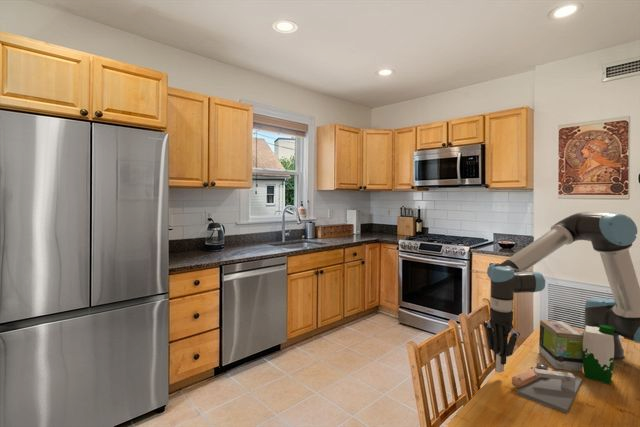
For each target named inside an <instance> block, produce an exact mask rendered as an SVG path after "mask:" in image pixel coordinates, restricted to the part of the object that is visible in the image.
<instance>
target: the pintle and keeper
mask: <svg viewBox="0 0 640 427" xmlns="http://www.w3.org/2000/svg"><path fill="white" fill-rule="evenodd" d="M535 365H536V366H537V367H538V368H540V369H534V373H535V375H536V376H537V377H544V378H551V379H559V380H561V387H562V388H563V390H564V391H567V392H575V377H574V376H575V375H574V374H573V373H572V372H565V371H560V372H558V371H559V370H556V371H550V370H544V369H548V367H549V365H548V364H546V363H544V362H536V364H535Z"/></svg>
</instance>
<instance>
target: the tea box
mask: <svg viewBox="0 0 640 427" xmlns="http://www.w3.org/2000/svg"><path fill="white" fill-rule="evenodd" d="M539 321H540V322H539V337H538V338H539V344H538V352H539V354H541V355H542V357H544V359H545V360H546V361H548V363H550V364H551V366H553V368H554V369H555V370H556V369H557V370H563V371H564V370H565V371H567V370H568V371H575V372H577V371H578V372H583V371H584V369H583V363H582V349H583V337H584V335H583V332H581V331H579V330H577V329H576V328H574V327H573V326H572V325H570V324H569V323H567V322H566V321H562V320H561V321H559V320H549V319H548V320H546V319H540V320H539Z"/></svg>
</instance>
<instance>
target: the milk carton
mask: <svg viewBox="0 0 640 427" xmlns="http://www.w3.org/2000/svg"><path fill="white" fill-rule="evenodd" d="M583 332H584V331H583ZM582 363H583V373H584V378H585V379H586V380H591V381H595V382H599V383H602V384H606V385H609V386H610V385H611V381H612V377H613V374H614V367H615V366H614V363H615V359H614V328H613V327H611V326H608V325H600V326H599V328H598V327H591V326H586V328H585V332H584V337H583V349H582Z"/></svg>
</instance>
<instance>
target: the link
mask: <svg viewBox="0 0 640 427" xmlns="http://www.w3.org/2000/svg"><path fill="white" fill-rule="evenodd" d="M534 369H540V368H538V367H537V366H536V364H534V365H531V366H530V369H528V370H525V371H524V372H521V373H520V374H517V375H515V376H512V377H511V385H512V386H513V387H516V388H520V387H522V386H524V385H526V384H528V383H530V382H533V381H535V380H537V379H539V378H541V377H537V376H536V375H535V373H534ZM544 370H550V371H553V370H554V368H552V367H549V366H548V369H544Z"/></svg>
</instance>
